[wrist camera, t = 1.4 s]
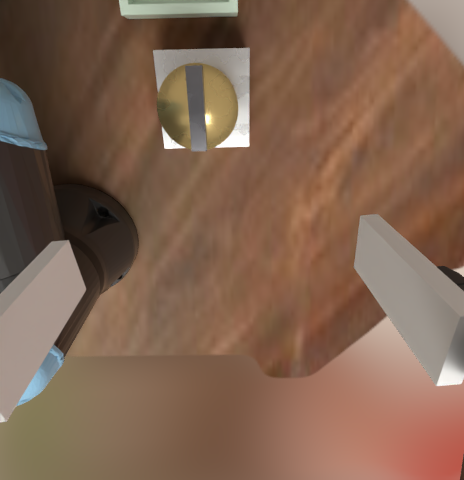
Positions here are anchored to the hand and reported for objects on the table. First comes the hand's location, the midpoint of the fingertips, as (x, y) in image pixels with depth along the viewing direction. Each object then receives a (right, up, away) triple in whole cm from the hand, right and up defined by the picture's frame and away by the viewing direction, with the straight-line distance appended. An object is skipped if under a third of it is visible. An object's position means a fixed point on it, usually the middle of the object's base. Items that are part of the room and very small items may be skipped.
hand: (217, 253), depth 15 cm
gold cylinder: (-2, +17, +21) cm, 27 cm away
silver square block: (-2, +17, +21) cm, 27 cm away
